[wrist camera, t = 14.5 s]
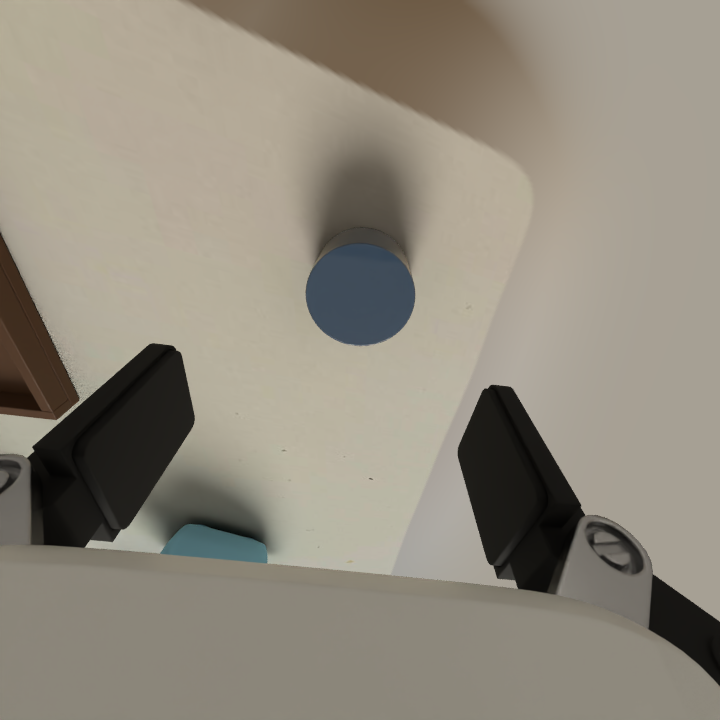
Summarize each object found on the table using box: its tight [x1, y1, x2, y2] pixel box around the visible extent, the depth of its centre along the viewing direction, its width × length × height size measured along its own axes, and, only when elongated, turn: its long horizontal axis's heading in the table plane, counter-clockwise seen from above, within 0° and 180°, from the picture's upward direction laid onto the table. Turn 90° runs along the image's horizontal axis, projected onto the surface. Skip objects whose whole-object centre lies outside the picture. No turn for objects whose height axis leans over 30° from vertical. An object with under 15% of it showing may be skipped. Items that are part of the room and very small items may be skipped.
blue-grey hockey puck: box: [306, 227, 415, 346], centre depth 18 cm, size 6×6×4 cm
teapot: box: [160, 524, 267, 563], centre depth 33 cm, size 12×18×12 cm
